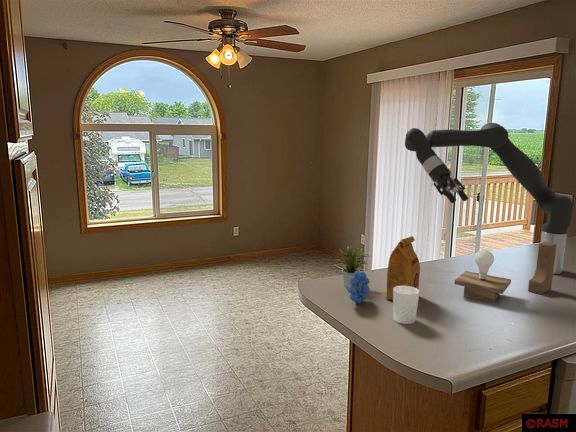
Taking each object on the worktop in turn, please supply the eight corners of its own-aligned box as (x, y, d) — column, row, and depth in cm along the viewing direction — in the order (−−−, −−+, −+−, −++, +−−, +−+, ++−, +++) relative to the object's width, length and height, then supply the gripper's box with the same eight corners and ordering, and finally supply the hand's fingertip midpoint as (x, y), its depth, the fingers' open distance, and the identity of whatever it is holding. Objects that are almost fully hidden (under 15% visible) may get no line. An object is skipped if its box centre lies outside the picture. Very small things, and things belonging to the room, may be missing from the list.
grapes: (360, 311, 142) (361, 277, 140) (343, 306, 147) (344, 272, 145) (377, 301, 151) (379, 269, 149) (361, 297, 155) (362, 265, 153)
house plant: (360, 296, 156) (362, 252, 153) (326, 289, 163) (327, 247, 160) (374, 285, 168) (376, 244, 165) (342, 278, 175) (343, 239, 172)
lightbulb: (469, 276, 160) (472, 248, 158) (486, 276, 160) (488, 247, 158) (478, 282, 154) (481, 252, 152) (495, 282, 154) (498, 252, 152)
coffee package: (423, 296, 157) (427, 237, 153) (407, 306, 147) (411, 243, 143) (398, 289, 163) (401, 233, 159) (381, 298, 154) (384, 239, 150)
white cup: (389, 322, 134) (391, 292, 132) (393, 313, 141) (395, 284, 140) (415, 327, 131) (417, 295, 130) (418, 317, 139) (420, 287, 137)
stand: (464, 285, 168) (465, 270, 167) (509, 294, 159) (511, 279, 158) (453, 295, 157) (454, 280, 156) (501, 306, 148) (502, 289, 147)
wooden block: (539, 294, 159) (545, 247, 156) (527, 291, 163) (532, 244, 159) (551, 289, 164) (557, 244, 161) (539, 286, 168) (544, 241, 164)
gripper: (432, 163, 167) (457, 196, 160) (452, 162, 176) (477, 193, 169) (419, 176, 172) (443, 208, 165) (440, 174, 181) (463, 205, 174)
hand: (460, 200), depth 167 cm, fingers open, 8 cm apart
